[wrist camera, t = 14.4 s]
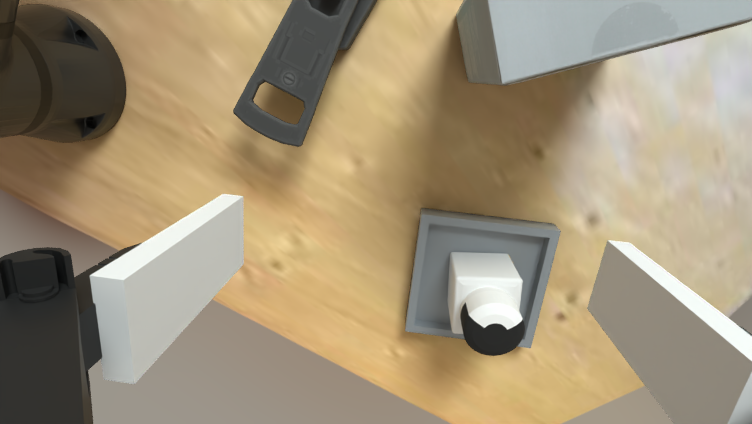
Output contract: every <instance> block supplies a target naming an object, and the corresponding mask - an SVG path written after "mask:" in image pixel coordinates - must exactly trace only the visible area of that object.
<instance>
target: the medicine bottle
mask: <svg viewBox="0 0 752 424" xmlns="http://www.w3.org/2000/svg"><path fill="white" fill-rule="evenodd" d="M522 283H523V281H522V278H521V276H520V274H519V273H518V271H517V269H516V267H515V265H514V263H513V261H512V260H511V258H510V256H509V255H508V254H504V253H472V252H451V253H450V263H449V280H448V298H447V302H448V309H449V315H450V322H451V328H452V332H453V333H455V334H463V335H464V338H465V340H466V342H467V344H468V345H469V346H470V347H471V348H472V349H474V350H475V351H477V352H479V353H481V354H485V355H491V356H495V355H502V354H505V353H508V352H510V351H512V350H513V349H514V348H516V347H517V346H518V345H519V344H520V342H521V341H522V339H523V337H524V333H525V324H524V321H523V318H522V316H521V314H520V312H519V308H520V300H521V292H522Z"/></svg>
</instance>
